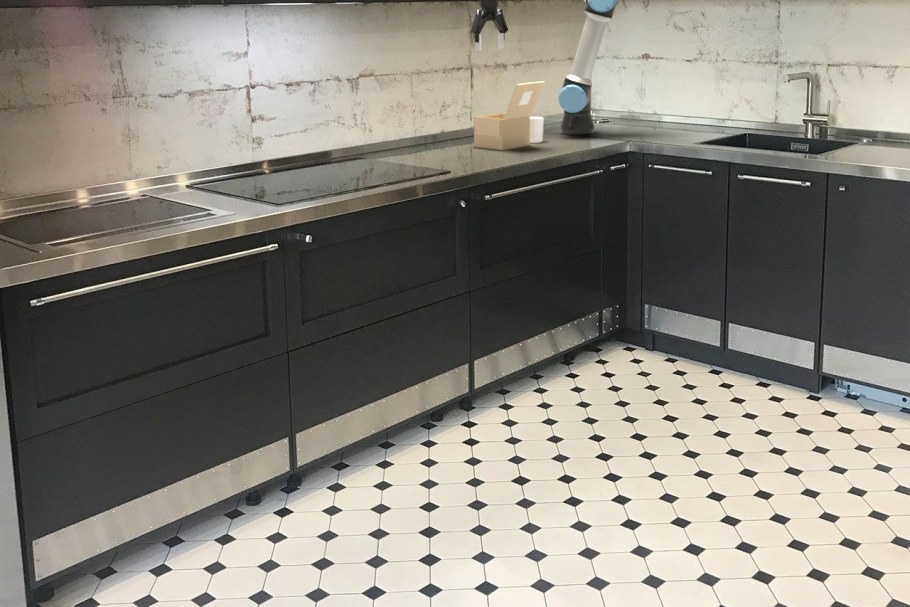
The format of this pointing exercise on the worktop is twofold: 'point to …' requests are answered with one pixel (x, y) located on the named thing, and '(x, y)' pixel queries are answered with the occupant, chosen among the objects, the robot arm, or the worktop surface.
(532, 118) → the white cup
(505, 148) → the carton
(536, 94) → the lid flap
